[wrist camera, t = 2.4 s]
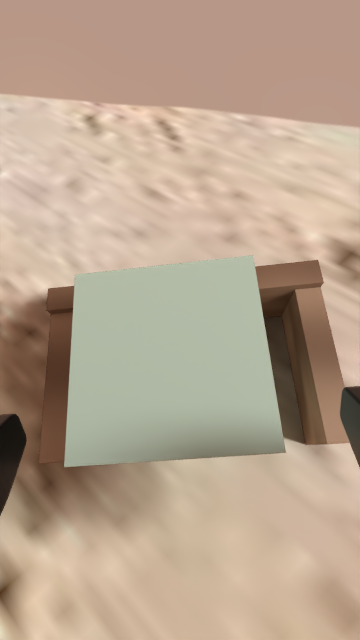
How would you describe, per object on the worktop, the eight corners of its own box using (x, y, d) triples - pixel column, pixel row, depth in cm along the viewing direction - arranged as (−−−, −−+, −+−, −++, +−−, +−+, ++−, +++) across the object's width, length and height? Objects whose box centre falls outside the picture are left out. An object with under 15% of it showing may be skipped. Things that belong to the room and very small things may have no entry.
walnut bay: (330, 443, 17) (362, 442, 13) (71, 460, 18) (32, 464, 14) (298, 295, 20) (318, 260, 16) (78, 317, 21) (48, 288, 17)
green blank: (245, 448, 17) (285, 452, 7) (149, 455, 17) (64, 467, 8) (233, 354, 19) (253, 255, 9) (146, 361, 19) (75, 274, 9)
